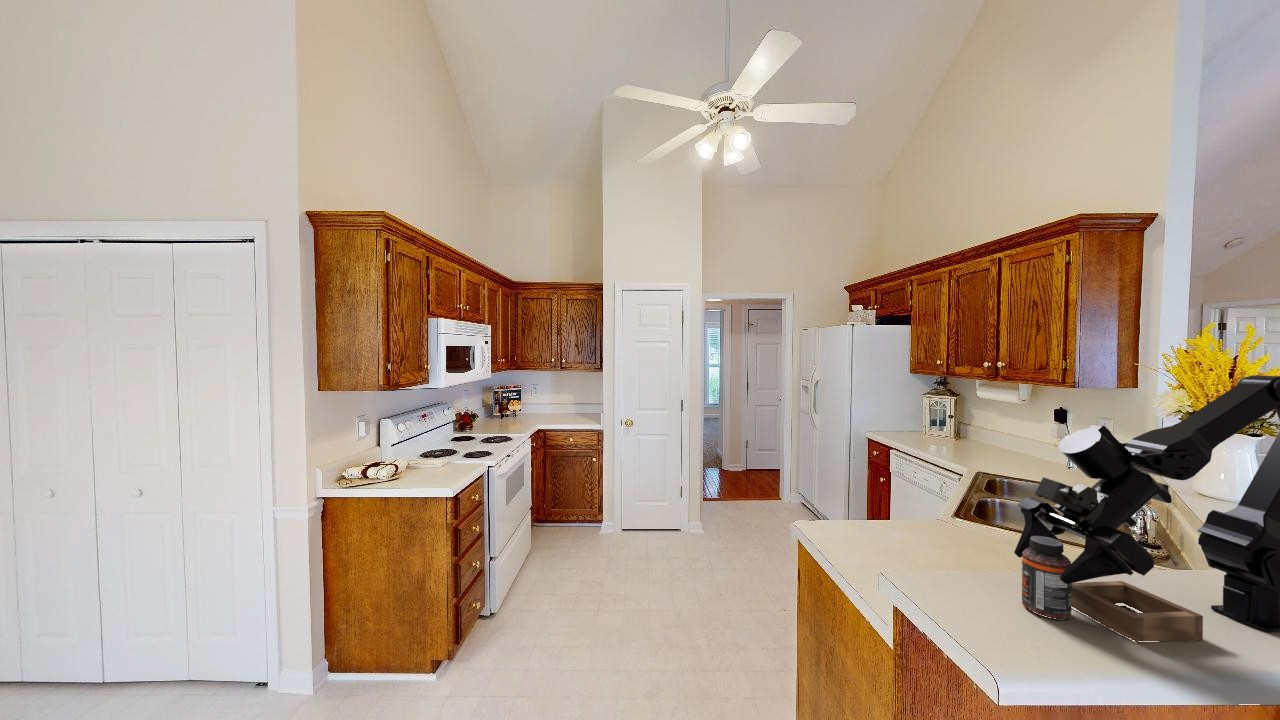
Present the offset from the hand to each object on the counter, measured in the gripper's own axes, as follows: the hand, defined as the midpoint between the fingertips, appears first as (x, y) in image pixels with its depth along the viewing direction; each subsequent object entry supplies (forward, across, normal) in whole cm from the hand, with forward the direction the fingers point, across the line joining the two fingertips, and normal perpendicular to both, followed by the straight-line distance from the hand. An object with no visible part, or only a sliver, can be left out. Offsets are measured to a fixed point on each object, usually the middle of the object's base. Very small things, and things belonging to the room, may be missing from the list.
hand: (1038, 567), depth 74 cm
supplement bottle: (+4, 0, +6) cm, 7 cm away
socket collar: (-3, +2, +13) cm, 14 cm away
